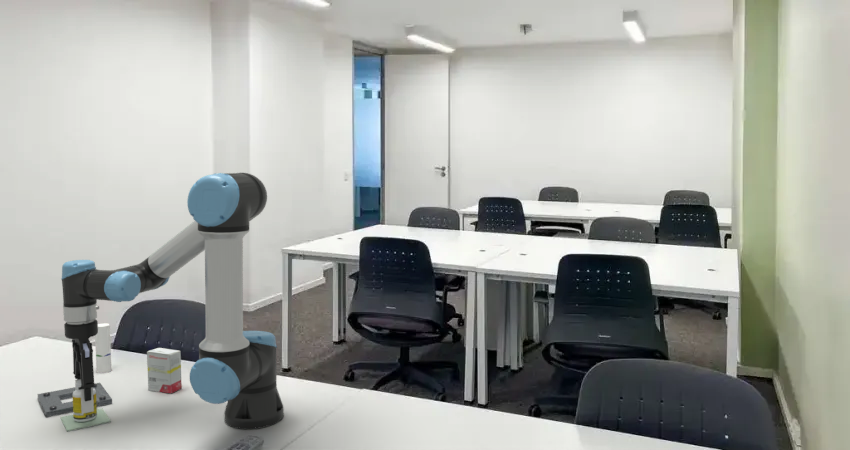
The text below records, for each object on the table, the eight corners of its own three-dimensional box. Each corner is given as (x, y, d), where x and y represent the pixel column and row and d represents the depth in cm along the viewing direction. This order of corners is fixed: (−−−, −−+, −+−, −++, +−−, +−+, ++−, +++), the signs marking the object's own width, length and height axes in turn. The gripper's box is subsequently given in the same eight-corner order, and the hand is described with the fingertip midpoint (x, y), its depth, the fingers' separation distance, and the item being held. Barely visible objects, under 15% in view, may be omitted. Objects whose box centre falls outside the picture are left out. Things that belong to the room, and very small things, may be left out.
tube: (96, 369, 206) (94, 324, 204) (111, 368, 208) (109, 322, 206) (96, 373, 202) (94, 327, 200) (111, 372, 204) (109, 326, 202)
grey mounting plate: (112, 403, 178) (111, 397, 178) (45, 417, 168) (45, 410, 168) (100, 387, 191) (99, 381, 190) (37, 398, 181) (37, 392, 181)
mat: (110, 422, 166) (110, 420, 166) (67, 431, 160) (67, 430, 160) (102, 409, 174) (102, 408, 174) (60, 418, 168) (60, 417, 168)
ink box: (182, 388, 190) (181, 349, 189) (171, 394, 186) (169, 354, 184) (159, 384, 193) (158, 346, 192) (147, 390, 189) (146, 351, 187)
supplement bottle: (87, 423, 164) (85, 385, 163) (68, 421, 165) (66, 384, 164) (101, 415, 169) (100, 379, 168) (83, 413, 170) (82, 377, 169)
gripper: (105, 326, 159) (109, 416, 161) (89, 311, 174) (93, 393, 176) (71, 331, 154) (75, 423, 156) (58, 315, 169) (62, 399, 172)
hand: (85, 407), depth 166 cm, fingers open, 7 cm apart
